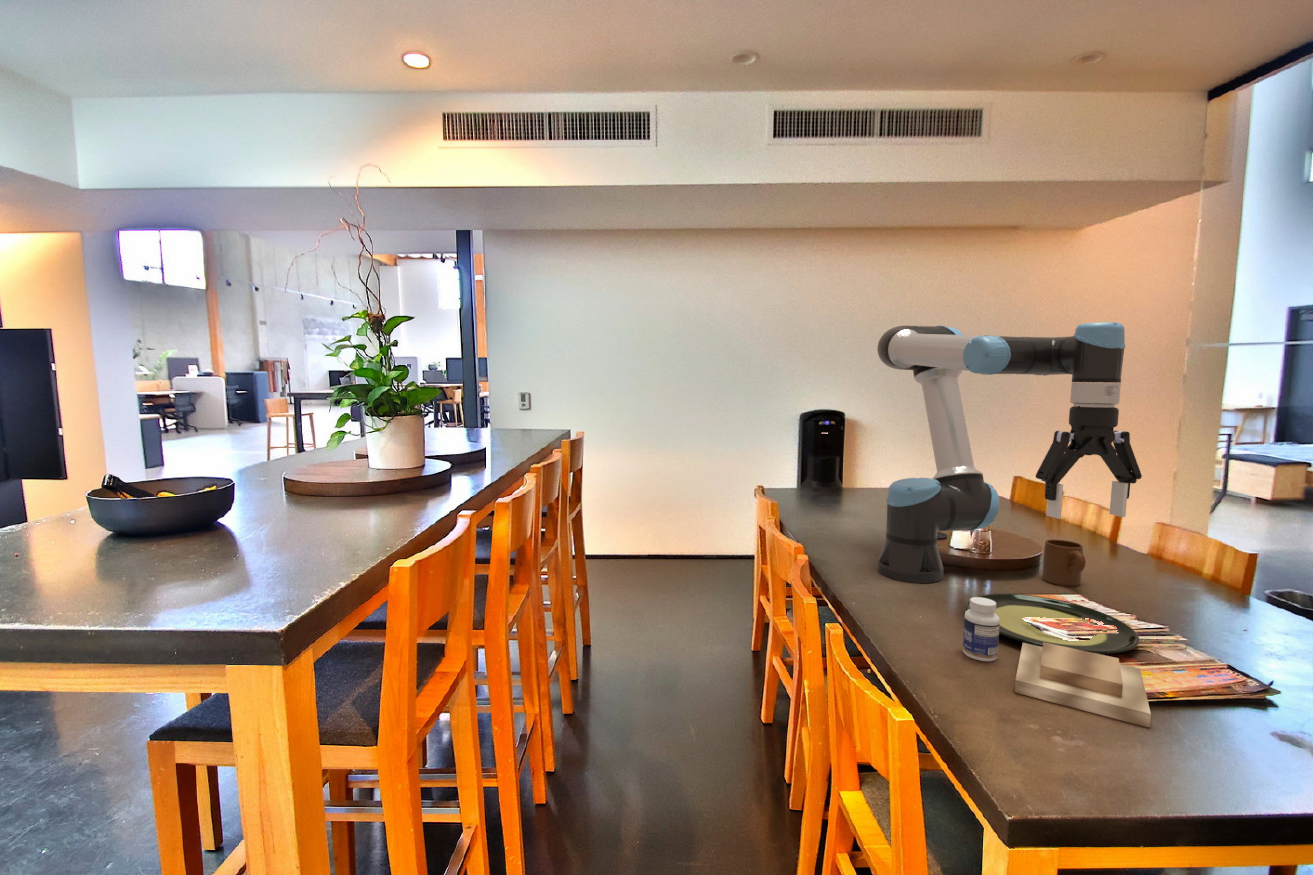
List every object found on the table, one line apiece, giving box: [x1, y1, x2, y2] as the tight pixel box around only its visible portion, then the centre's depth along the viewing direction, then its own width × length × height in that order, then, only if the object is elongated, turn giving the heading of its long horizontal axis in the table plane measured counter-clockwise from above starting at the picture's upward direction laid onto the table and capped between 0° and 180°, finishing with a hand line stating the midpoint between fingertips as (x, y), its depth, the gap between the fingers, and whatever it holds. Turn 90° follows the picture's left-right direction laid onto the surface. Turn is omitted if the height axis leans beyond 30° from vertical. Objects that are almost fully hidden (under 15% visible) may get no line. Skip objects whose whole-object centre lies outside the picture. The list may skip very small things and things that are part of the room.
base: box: [1014, 642, 1152, 729], centre depth 93 cm, size 16×16×4 cm
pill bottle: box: [962, 596, 1000, 662], centre depth 103 cm, size 5×5×10 cm
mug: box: [1042, 539, 1086, 587], centre depth 139 cm, size 12×8×9 cm, turn 172°
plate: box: [964, 593, 1141, 655], centre depth 114 cm, size 28×28×2 cm
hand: (1085, 516), depth 114 cm, fingers open, 13 cm apart
